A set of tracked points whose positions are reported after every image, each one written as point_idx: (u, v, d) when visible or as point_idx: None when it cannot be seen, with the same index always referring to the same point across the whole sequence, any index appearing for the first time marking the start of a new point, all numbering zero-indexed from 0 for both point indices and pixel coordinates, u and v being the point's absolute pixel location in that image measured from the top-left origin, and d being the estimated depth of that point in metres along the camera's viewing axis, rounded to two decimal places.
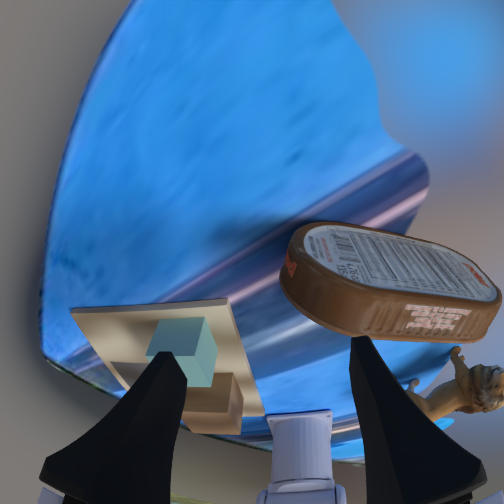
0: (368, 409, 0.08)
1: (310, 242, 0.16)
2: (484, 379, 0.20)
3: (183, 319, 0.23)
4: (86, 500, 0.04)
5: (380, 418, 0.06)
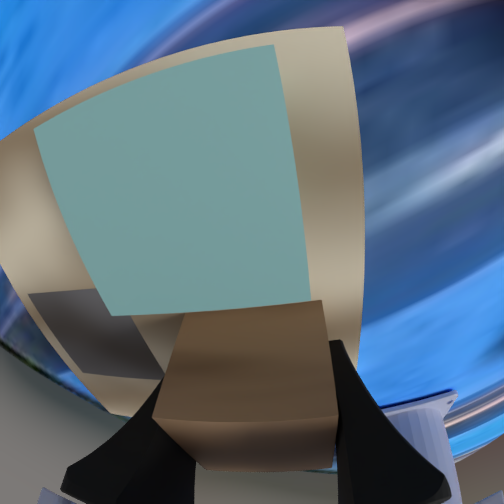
0: None
1: None
2: None
3: None
4: None
5: (343, 424, 0.07)
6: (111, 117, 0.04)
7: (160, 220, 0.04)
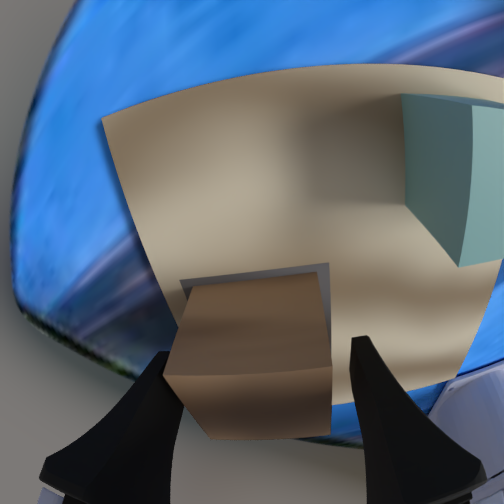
0: (367, 409, 0.08)
1: None
2: None
3: (456, 96, 0.07)
4: (86, 500, 0.04)
5: (380, 418, 0.06)
6: None
7: None
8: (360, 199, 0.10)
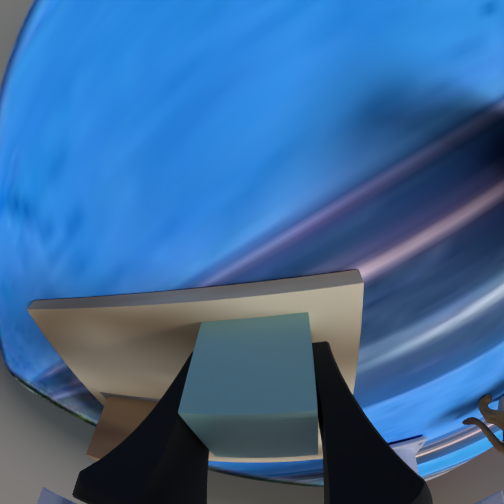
0: (321, 416, 0.08)
1: None
2: None
3: (259, 320, 0.11)
4: None
5: (325, 427, 0.07)
6: (234, 420, 0.08)
7: (254, 441, 0.08)
8: None
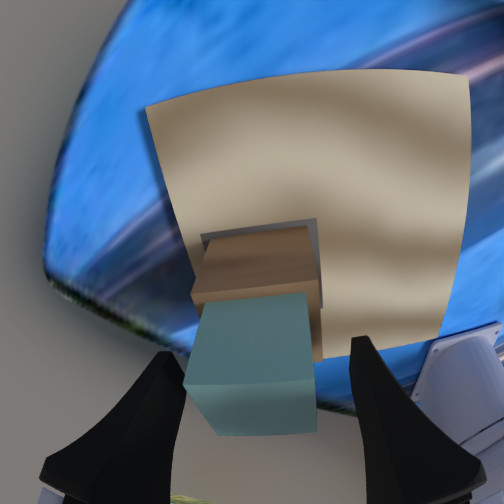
0: (367, 409, 0.08)
1: None
2: None
3: (259, 300, 0.11)
4: (86, 500, 0.04)
5: (380, 418, 0.06)
6: (236, 391, 0.08)
7: (255, 416, 0.09)
8: (337, 168, 0.13)
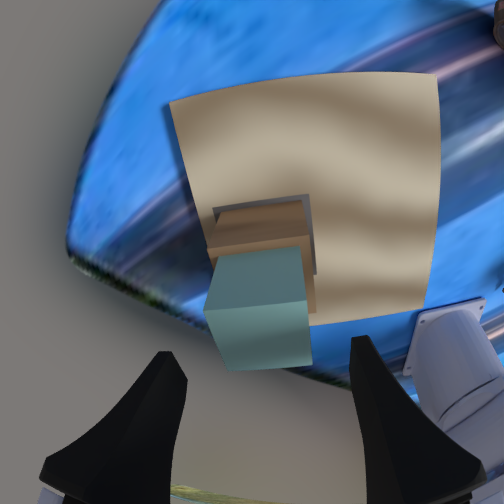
0: (368, 409, 0.08)
1: None
2: None
3: (262, 252, 0.14)
4: (86, 500, 0.04)
5: (380, 418, 0.06)
6: (245, 315, 0.11)
7: (260, 343, 0.12)
8: (325, 152, 0.16)
